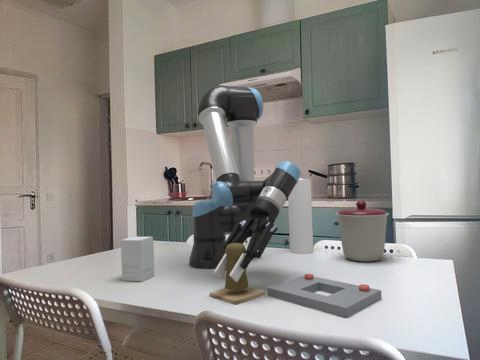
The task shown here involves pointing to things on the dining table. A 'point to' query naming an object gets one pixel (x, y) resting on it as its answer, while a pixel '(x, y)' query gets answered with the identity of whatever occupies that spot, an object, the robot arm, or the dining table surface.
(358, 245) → the canister
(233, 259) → the olive pawn
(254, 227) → the robot arm
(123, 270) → the supplement box
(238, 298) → the coaster
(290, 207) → the cylinder container
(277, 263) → the dining table surface
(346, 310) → the plate
